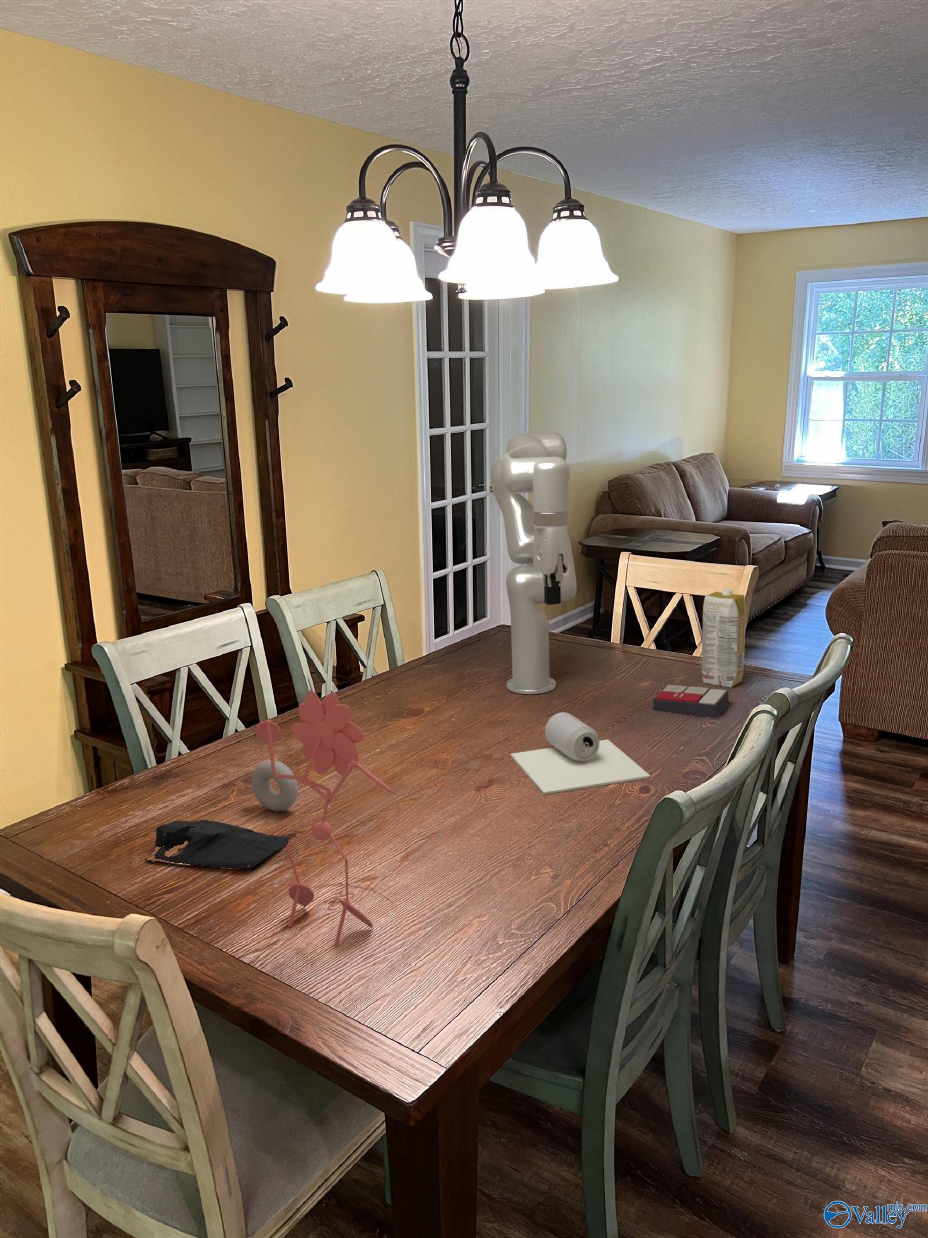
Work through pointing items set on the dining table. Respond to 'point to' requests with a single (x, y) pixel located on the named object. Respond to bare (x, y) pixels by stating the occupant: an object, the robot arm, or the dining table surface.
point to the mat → (578, 768)
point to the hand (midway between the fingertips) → (552, 603)
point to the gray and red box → (691, 701)
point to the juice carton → (723, 638)
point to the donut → (267, 793)
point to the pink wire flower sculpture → (326, 745)
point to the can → (572, 737)
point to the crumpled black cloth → (216, 844)
